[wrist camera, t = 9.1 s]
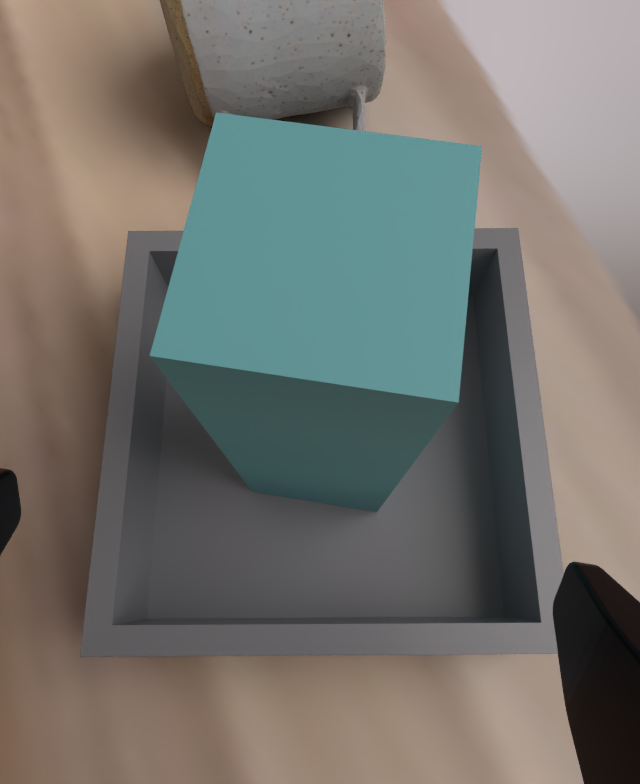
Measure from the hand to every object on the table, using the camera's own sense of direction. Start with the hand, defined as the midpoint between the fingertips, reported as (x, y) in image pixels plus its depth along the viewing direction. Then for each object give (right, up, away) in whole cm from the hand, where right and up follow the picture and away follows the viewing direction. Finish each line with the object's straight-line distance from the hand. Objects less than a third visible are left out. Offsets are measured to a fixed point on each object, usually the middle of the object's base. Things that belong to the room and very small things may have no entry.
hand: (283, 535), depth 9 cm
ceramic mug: (-1, +15, +18) cm, 24 cm away
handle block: (+1, +1, +12) cm, 12 cm away
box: (+1, 0, +13) cm, 13 cm away
